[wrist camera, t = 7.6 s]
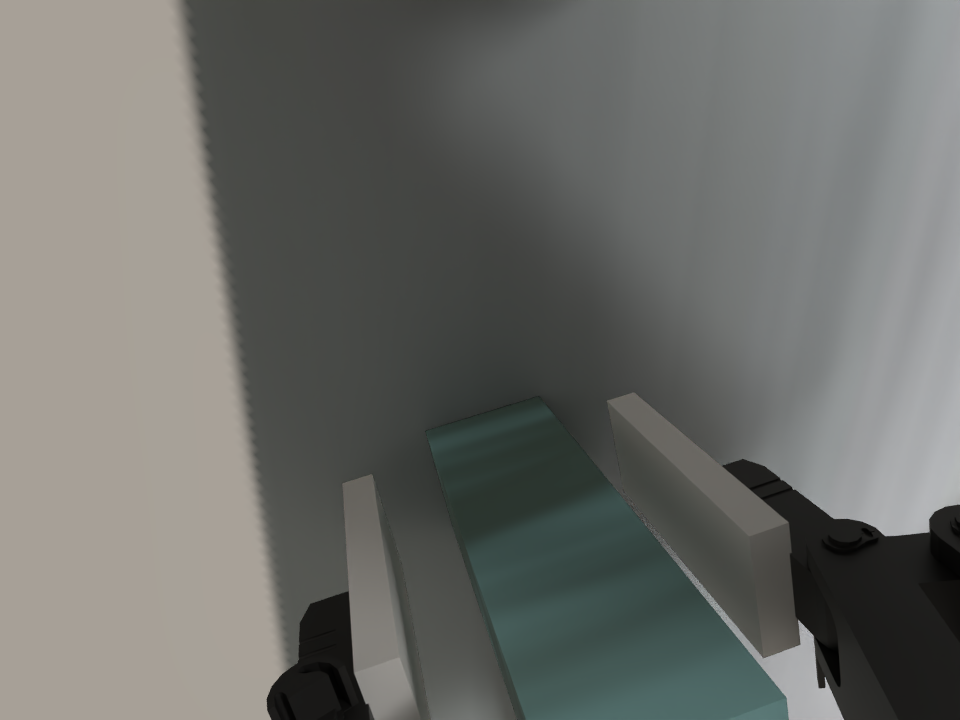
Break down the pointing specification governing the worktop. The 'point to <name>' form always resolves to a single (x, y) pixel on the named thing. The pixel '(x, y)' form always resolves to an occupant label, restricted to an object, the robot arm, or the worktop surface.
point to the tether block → (583, 584)
